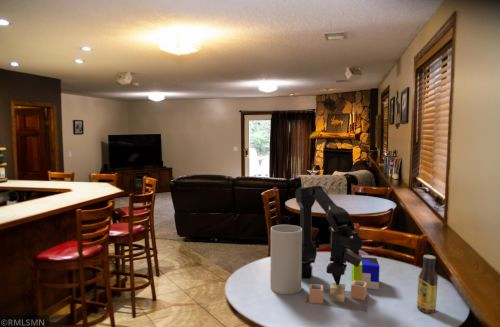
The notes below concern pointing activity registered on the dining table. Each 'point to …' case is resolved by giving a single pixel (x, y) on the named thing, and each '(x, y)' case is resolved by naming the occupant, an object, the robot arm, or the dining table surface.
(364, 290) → the labelled block right
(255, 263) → the dining table surface
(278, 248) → the cylinder vase
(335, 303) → the mat
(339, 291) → the plain block
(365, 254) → the lily
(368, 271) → the puzzle toy
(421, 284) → the sauce bottle
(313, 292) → the labelled block left
